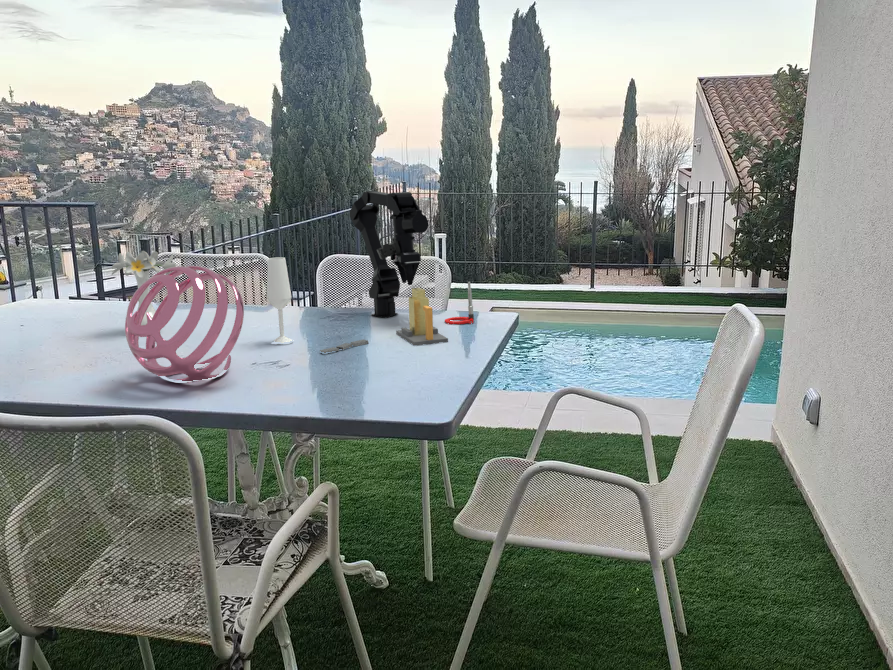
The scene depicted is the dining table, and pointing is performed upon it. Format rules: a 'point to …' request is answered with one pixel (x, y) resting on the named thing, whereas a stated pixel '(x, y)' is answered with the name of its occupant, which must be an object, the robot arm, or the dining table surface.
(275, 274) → the champagne flute
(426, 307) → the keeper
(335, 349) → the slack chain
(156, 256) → the flower vase
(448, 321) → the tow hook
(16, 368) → the dining table surface
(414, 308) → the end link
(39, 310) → the dining table surface
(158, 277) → the pink lattice ball
